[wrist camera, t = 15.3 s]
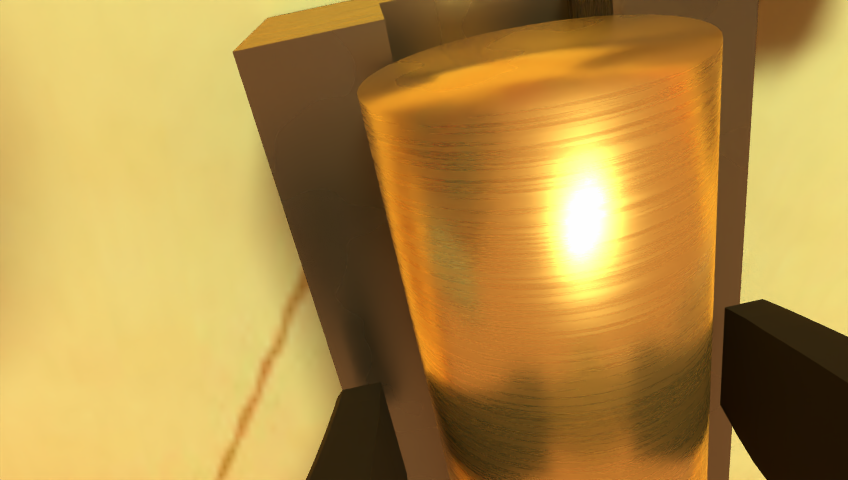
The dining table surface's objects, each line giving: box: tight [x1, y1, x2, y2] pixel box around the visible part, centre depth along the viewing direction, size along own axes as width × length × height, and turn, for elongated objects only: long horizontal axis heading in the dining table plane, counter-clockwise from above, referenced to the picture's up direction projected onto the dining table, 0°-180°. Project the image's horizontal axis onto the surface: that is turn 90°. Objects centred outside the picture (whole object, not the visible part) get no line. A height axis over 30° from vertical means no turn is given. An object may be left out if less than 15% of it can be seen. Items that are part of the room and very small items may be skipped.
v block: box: [233, 0, 759, 480], centre depth 12 cm, size 12×7×4 cm, turn 11°
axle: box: [357, 14, 723, 480], centre depth 9 cm, size 10×4×4 cm, turn 11°
